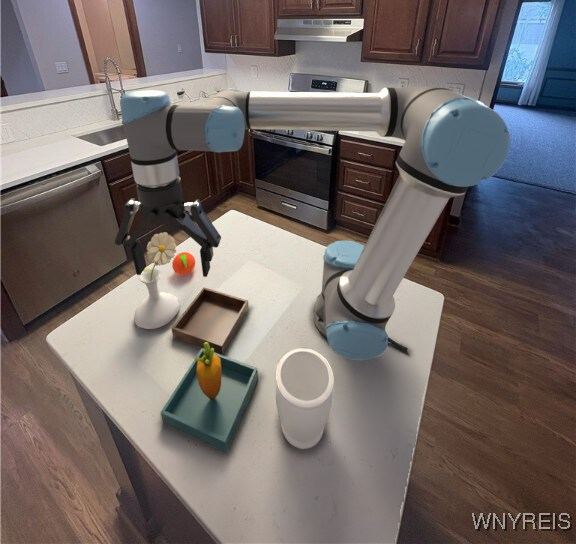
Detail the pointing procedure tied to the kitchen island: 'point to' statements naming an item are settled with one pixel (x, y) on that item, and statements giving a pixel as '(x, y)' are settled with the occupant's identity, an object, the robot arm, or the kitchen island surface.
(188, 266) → the clementine
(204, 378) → the carrot
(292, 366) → the jar
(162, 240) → the flower in vase
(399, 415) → the kitchen island surface
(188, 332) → the tray
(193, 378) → the tray
